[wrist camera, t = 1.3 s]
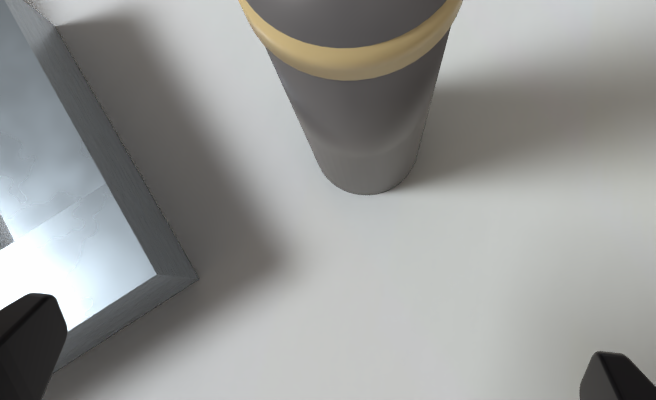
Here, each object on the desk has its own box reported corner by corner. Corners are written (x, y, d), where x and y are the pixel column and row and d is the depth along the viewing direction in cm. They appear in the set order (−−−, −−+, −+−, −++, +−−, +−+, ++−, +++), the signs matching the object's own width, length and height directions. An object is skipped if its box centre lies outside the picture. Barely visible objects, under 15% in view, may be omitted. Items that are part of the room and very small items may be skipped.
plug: (442, 159, 23) (535, -47, 9) (350, 218, 23) (305, 98, 9) (381, 74, 24) (384, -229, 10) (292, 130, 24) (175, -97, 10)
